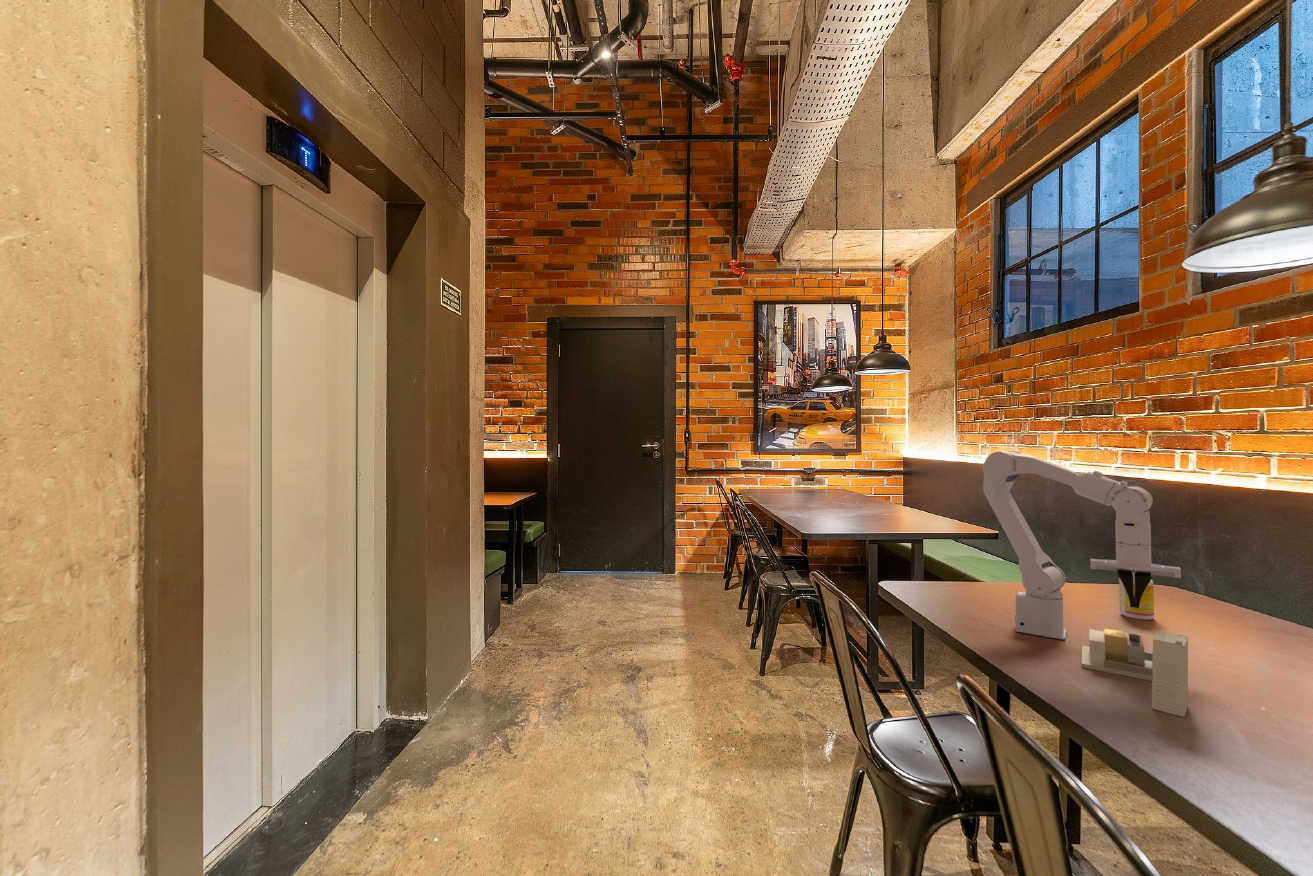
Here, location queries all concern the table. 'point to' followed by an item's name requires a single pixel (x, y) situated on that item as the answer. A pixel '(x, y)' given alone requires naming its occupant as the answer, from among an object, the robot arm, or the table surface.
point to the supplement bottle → (1145, 605)
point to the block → (1116, 646)
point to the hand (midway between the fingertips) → (1134, 606)
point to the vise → (1096, 661)
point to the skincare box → (1170, 673)
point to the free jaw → (1135, 650)
